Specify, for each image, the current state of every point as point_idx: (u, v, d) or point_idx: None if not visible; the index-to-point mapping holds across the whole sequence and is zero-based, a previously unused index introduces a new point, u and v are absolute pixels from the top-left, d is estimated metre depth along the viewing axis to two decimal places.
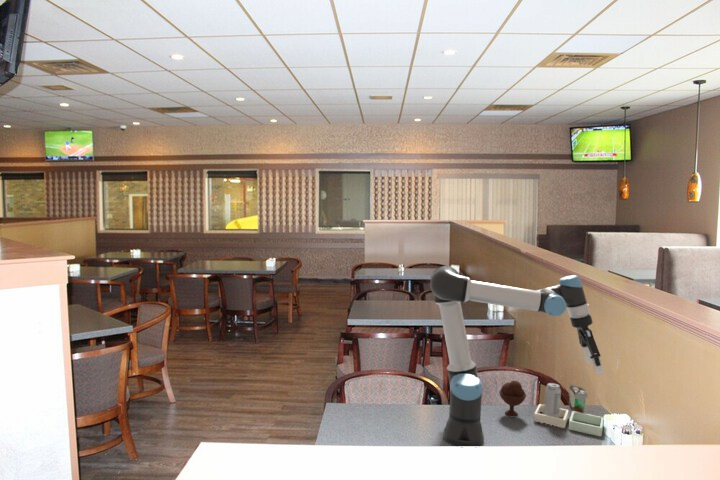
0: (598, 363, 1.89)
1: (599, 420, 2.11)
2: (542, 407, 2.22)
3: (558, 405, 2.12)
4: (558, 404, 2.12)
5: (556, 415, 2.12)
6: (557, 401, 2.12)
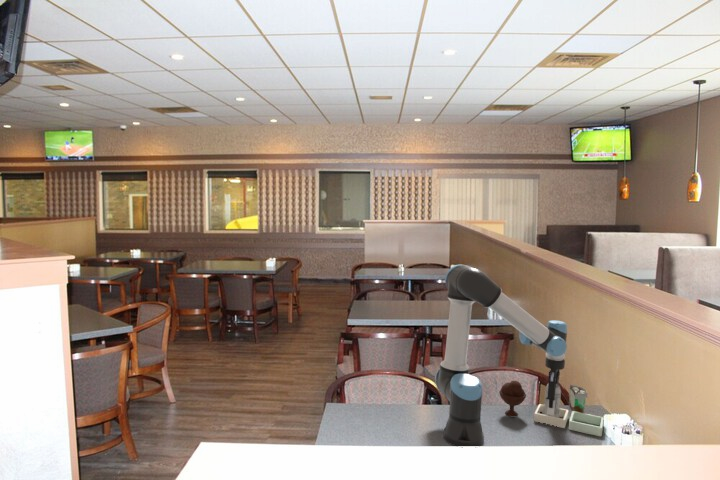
0: (550, 405, 2.10)
1: (599, 420, 2.11)
2: (542, 407, 2.22)
3: (558, 405, 2.12)
4: (558, 404, 2.12)
5: (556, 415, 2.12)
6: (557, 401, 2.12)
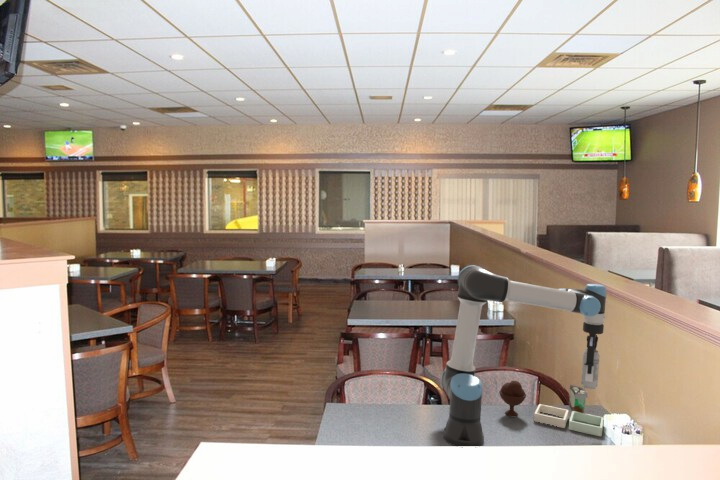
0: (589, 371, 2.03)
1: (599, 420, 2.11)
2: (542, 407, 2.22)
3: (597, 371, 2.05)
4: (597, 370, 2.05)
5: (595, 382, 2.04)
6: (596, 367, 2.04)
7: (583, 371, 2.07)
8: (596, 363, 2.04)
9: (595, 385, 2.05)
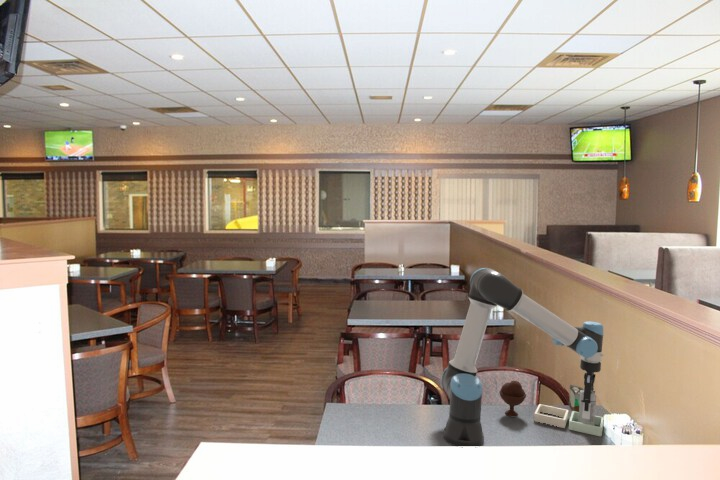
0: (586, 408, 2.02)
1: (599, 420, 2.11)
2: (542, 407, 2.22)
3: (594, 412, 2.06)
4: (594, 411, 2.06)
5: (591, 423, 2.06)
6: (593, 408, 2.05)
7: (580, 412, 2.08)
8: (593, 404, 2.05)
9: None
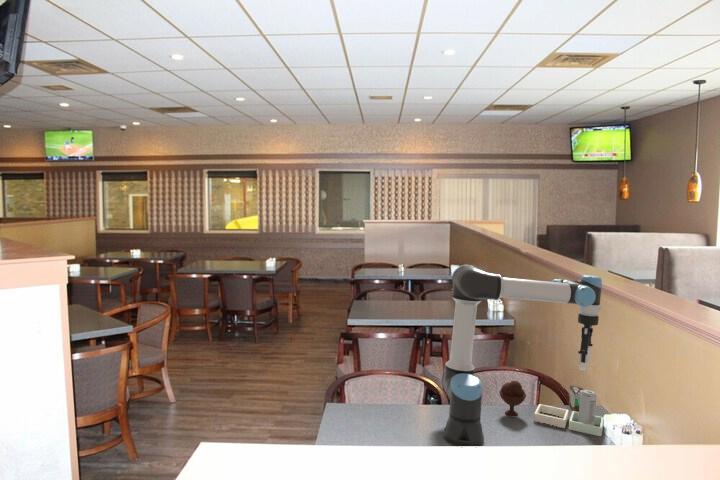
0: (583, 360, 1.99)
1: (599, 420, 2.11)
2: (542, 407, 2.22)
3: (594, 412, 2.06)
4: (594, 411, 2.06)
5: (591, 423, 2.06)
6: (593, 408, 2.05)
7: (580, 412, 2.08)
8: (593, 404, 2.05)
9: None
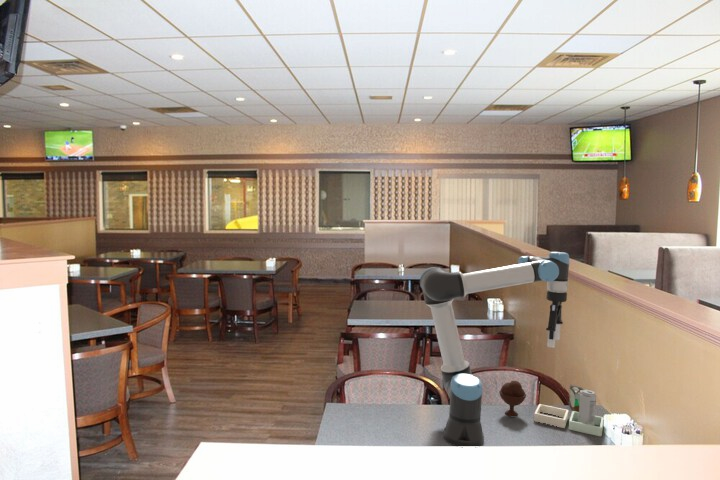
0: (551, 336, 1.97)
1: (599, 420, 2.11)
2: (542, 407, 2.22)
3: (594, 412, 2.06)
4: (594, 411, 2.06)
5: (591, 423, 2.06)
6: (593, 408, 2.05)
7: (580, 412, 2.08)
8: (593, 404, 2.05)
9: None
